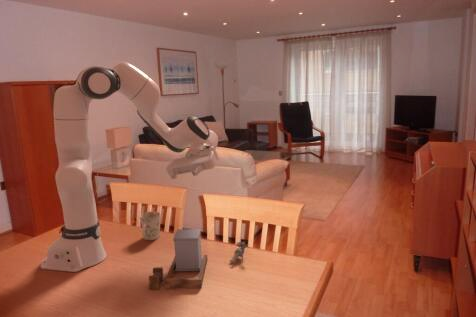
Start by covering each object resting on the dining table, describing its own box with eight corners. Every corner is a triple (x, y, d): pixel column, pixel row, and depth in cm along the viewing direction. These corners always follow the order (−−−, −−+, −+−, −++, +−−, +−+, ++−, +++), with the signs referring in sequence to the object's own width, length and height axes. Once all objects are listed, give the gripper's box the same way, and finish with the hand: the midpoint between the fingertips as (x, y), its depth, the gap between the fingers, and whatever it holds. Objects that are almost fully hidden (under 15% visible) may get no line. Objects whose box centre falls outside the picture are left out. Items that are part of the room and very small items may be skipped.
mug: (164, 233, 154) (162, 211, 152) (155, 246, 142) (153, 223, 140) (145, 232, 155) (144, 211, 153) (135, 246, 143) (132, 222, 141)
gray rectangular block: (175, 271, 123) (173, 238, 120) (179, 260, 130) (177, 229, 127) (199, 271, 122) (198, 238, 120) (202, 260, 130) (200, 229, 127)
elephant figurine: (220, 260, 130) (232, 243, 136) (231, 271, 130) (244, 254, 136) (232, 252, 123) (245, 234, 129) (244, 264, 123) (257, 246, 129)
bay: (149, 289, 113) (148, 277, 112) (163, 260, 131) (162, 249, 130) (201, 289, 112) (200, 276, 111) (207, 259, 130) (206, 248, 129)
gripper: (172, 154, 142) (156, 172, 131) (216, 145, 134) (204, 164, 123) (178, 167, 145) (163, 186, 133) (222, 159, 136) (210, 179, 125)
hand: (183, 175), depth 128 cm, fingers open, 8 cm apart
